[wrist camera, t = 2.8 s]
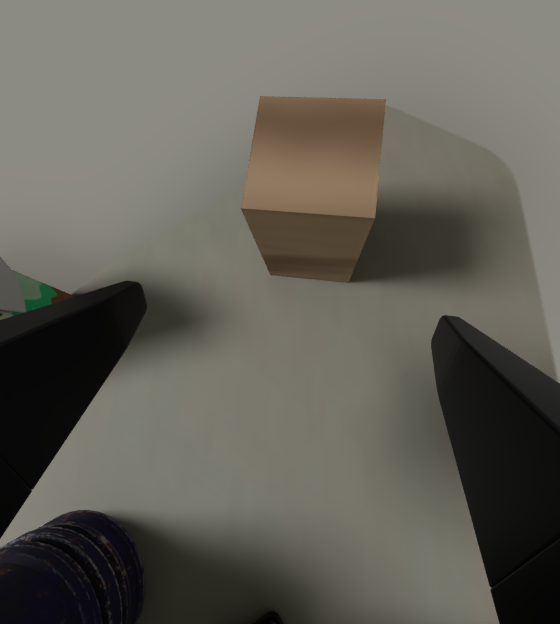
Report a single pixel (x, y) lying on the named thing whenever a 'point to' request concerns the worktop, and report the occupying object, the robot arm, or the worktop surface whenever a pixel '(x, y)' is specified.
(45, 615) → the storage jar
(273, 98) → the tan rectangular block
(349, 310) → the worktop surface
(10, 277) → the food container
